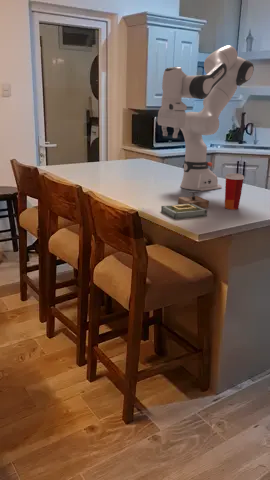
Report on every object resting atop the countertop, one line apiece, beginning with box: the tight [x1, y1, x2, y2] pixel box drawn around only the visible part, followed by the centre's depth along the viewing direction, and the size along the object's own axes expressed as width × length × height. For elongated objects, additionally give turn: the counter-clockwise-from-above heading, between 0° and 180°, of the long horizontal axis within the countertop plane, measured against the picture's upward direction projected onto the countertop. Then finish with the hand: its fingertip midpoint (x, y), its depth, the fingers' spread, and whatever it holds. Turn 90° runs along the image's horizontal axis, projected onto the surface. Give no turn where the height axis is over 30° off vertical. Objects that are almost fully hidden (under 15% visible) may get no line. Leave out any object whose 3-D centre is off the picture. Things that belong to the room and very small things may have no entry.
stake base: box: [177, 195, 210, 209], centre depth 195 cm, size 10×10×3 cm
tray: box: [160, 204, 208, 220], centre depth 181 cm, size 15×12×2 cm
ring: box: [171, 204, 197, 212], centre depth 181 cm, size 10×6×2 cm, turn 114°
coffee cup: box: [224, 172, 245, 211], centre depth 191 cm, size 8×8×15 cm
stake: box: [187, 190, 199, 200], centre depth 194 cm, size 5×1×4 cm, turn 114°
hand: (169, 136), depth 199 cm, fingers open, 8 cm apart
